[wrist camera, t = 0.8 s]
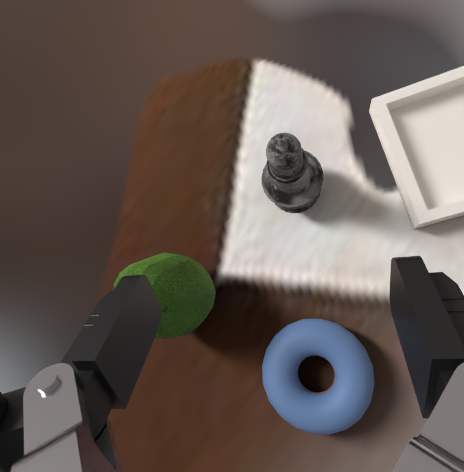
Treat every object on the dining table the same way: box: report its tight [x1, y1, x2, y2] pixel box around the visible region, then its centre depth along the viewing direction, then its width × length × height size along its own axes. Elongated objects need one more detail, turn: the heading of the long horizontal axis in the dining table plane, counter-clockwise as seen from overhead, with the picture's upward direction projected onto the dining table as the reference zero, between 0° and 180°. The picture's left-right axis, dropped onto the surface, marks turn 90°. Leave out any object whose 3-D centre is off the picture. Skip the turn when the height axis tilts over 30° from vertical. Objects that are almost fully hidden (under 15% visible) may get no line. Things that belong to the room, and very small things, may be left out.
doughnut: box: [262, 319, 375, 435], centre depth 33 cm, size 10×10×5 cm
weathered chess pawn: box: [262, 133, 323, 213], centre depth 32 cm, size 6×6×12 cm
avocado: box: [114, 253, 216, 339], centre depth 33 cm, size 8×8×12 cm
